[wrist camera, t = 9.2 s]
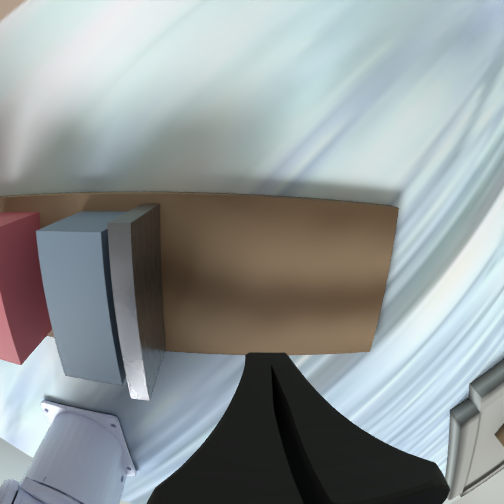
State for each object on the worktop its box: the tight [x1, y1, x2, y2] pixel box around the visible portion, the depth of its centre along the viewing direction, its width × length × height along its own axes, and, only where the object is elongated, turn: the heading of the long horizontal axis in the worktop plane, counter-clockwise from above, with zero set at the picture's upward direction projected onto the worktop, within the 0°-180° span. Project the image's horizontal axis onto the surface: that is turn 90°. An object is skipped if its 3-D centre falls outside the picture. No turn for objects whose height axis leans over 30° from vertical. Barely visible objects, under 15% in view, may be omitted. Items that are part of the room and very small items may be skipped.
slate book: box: [36, 211, 127, 385], centre depth 16 cm, size 8×4×5 cm, turn 177°
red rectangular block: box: [0, 212, 52, 365], centre depth 15 cm, size 8×4×5 cm, turn 176°
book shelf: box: [0, 192, 399, 355], centre depth 16 cm, size 10×30×7 cm, turn 87°
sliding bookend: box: [107, 203, 166, 401], centre depth 15 cm, size 9×1×5 cm, turn 177°
